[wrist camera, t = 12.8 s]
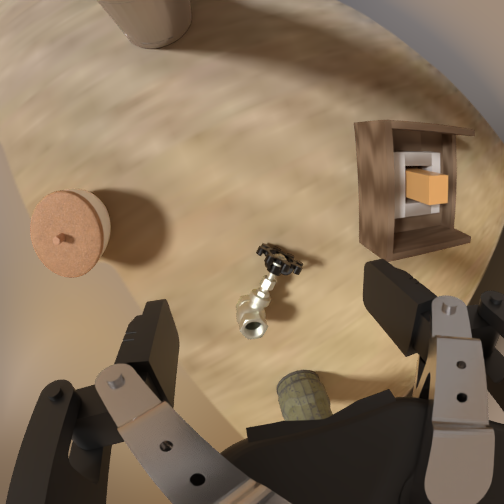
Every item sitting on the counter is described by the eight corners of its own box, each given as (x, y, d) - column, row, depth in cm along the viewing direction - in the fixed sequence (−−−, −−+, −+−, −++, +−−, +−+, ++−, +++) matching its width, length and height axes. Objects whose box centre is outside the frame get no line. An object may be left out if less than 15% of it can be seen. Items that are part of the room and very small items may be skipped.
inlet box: (353, 122, 35) (384, 119, 28) (441, 127, 37) (474, 129, 29) (359, 242, 42) (386, 262, 35) (440, 228, 43) (470, 242, 36)
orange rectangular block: (396, 168, 39) (429, 175, 31) (415, 168, 39) (448, 175, 31) (396, 193, 40) (428, 205, 33) (415, 192, 40) (447, 202, 33)
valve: (261, 320, 45) (296, 254, 41) (269, 346, 39) (310, 273, 35) (222, 308, 43) (255, 238, 40) (224, 334, 37) (263, 255, 34)
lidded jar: (46, 221, 34) (11, 241, 25) (83, 166, 33) (49, 173, 24) (93, 269, 38) (68, 300, 29) (135, 218, 36) (114, 240, 28)
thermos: (262, 397, 51) (301, 560, 19) (300, 359, 49) (372, 536, 16) (295, 407, 54) (343, 551, 21) (332, 372, 51) (407, 523, 19)
